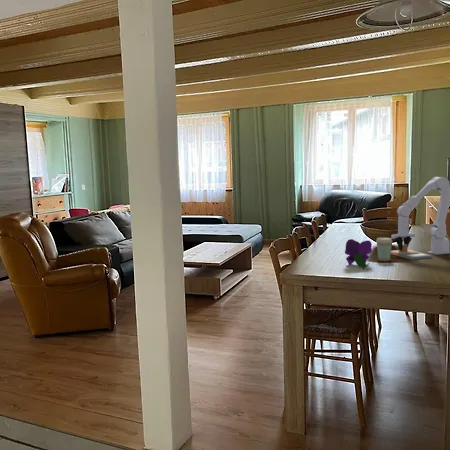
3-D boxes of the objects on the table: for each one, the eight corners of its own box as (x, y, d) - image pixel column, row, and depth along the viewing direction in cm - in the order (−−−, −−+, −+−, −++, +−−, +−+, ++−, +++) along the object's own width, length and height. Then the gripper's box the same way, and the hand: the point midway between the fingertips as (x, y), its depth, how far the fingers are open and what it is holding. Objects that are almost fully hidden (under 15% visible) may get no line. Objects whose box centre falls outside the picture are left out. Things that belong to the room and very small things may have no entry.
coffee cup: (391, 258, 259) (391, 237, 257) (392, 261, 251) (393, 239, 249) (375, 258, 261) (375, 237, 260) (376, 261, 253) (376, 239, 252)
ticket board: (417, 254, 268) (417, 251, 268) (431, 258, 257) (431, 255, 257) (397, 256, 265) (397, 253, 265) (411, 259, 253) (411, 257, 253)
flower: (376, 277, 239) (368, 260, 250) (381, 254, 231) (373, 238, 242) (348, 278, 239) (341, 261, 250) (352, 255, 230) (345, 239, 241)
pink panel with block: (408, 251, 276) (408, 242, 276) (417, 253, 269) (417, 244, 268) (389, 253, 273) (389, 244, 272) (397, 255, 265) (397, 246, 265)
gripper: (409, 225, 274) (409, 247, 276) (388, 226, 271) (388, 249, 273) (417, 226, 268) (417, 249, 269) (395, 228, 264) (395, 251, 266)
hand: (403, 249), depth 270 cm, fingers closed on pink panel with block, 3 cm apart
